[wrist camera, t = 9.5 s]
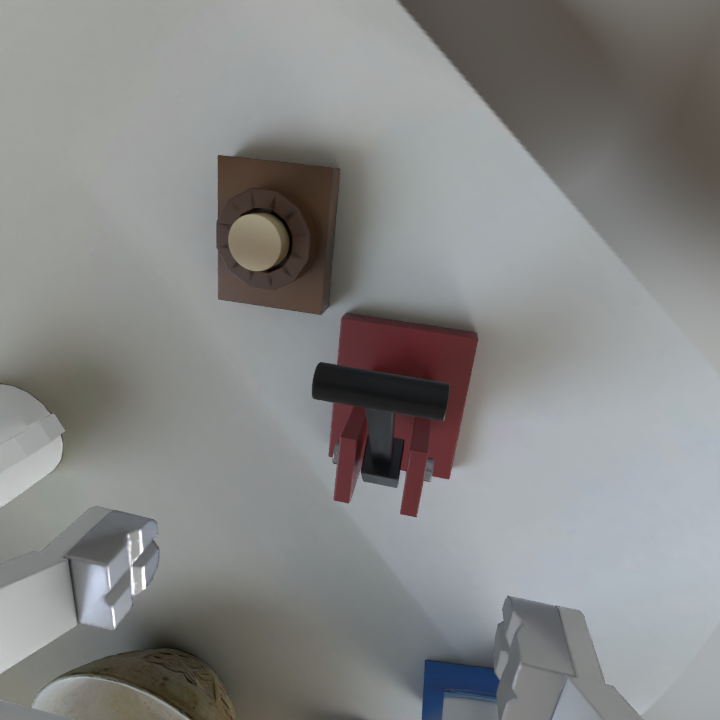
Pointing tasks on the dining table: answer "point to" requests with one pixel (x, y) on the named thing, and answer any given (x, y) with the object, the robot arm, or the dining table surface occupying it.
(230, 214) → the control block
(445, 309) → the dining table surface
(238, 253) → the button
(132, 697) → the bowl
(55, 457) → the mug
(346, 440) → the bracket
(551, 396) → the dining table surface
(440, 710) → the milk carton
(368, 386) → the lever
